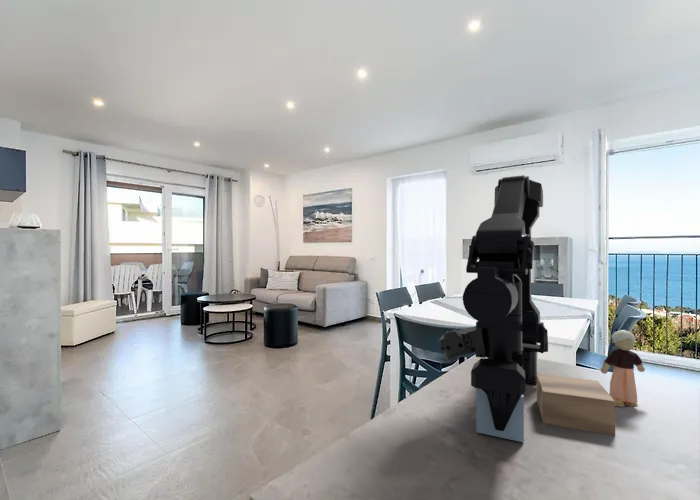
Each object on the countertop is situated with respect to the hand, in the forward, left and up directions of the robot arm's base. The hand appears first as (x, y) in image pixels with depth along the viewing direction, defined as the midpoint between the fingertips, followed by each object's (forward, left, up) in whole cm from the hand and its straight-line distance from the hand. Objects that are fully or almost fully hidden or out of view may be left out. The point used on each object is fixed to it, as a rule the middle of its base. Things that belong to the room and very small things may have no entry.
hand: (500, 420), depth 50 cm
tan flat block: (-10, +10, -2) cm, 14 cm away
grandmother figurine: (-20, +19, -2) cm, 28 cm away
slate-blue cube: (0, 0, -1) cm, 1 cm away
